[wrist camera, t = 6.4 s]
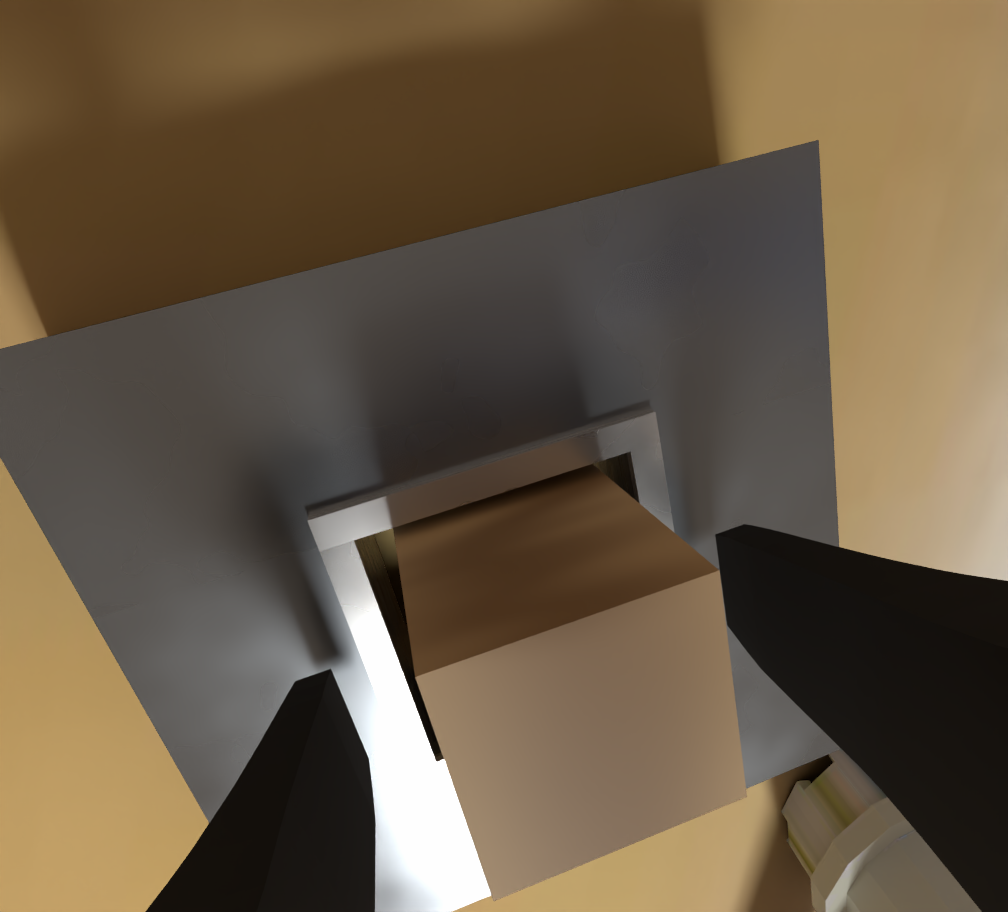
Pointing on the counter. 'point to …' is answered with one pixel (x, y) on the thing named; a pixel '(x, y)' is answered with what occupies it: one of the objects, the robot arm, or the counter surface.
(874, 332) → the counter surface
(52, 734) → the counter surface
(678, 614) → the oak peg
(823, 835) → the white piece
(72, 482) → the grey socket base
